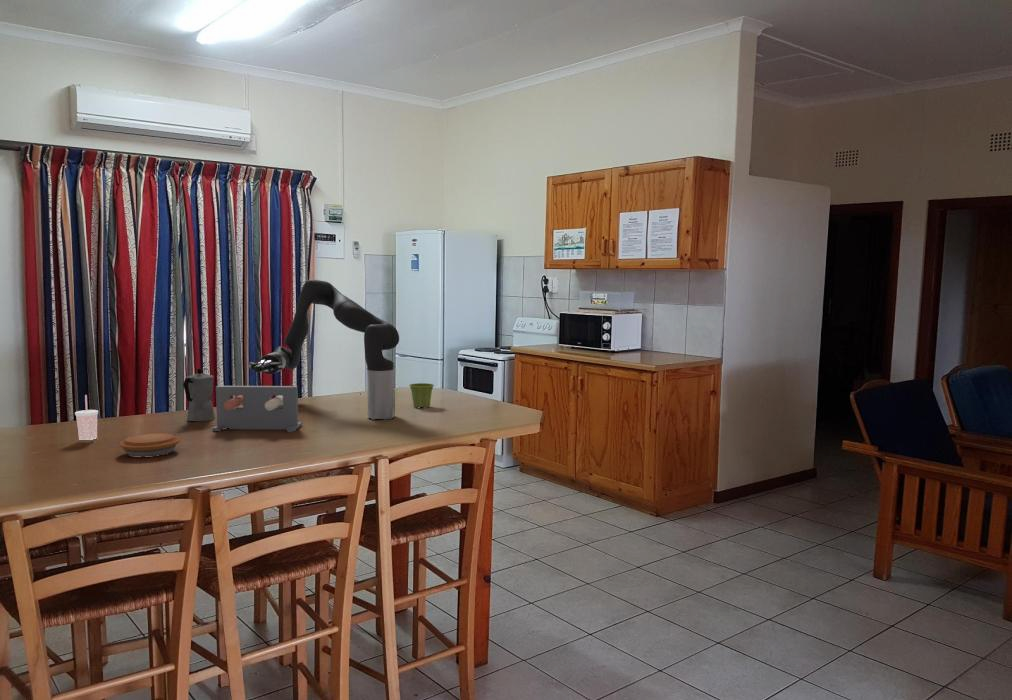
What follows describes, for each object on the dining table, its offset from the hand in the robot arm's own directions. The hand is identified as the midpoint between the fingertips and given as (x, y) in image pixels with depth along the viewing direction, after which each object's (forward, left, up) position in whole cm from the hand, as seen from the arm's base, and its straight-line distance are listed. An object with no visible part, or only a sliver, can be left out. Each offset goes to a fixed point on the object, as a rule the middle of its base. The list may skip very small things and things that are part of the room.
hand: (257, 369), depth 262 cm
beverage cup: (+38, +40, -17) cm, 58 cm away
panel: (-7, +21, -17) cm, 28 cm away
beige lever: (-13, +22, -10) cm, 27 cm away
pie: (+12, +55, -17) cm, 59 cm away
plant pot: (-56, -21, -17) cm, 62 cm away
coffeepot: (+18, +7, -17) cm, 26 cm away
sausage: (0, +22, -10) cm, 24 cm away
